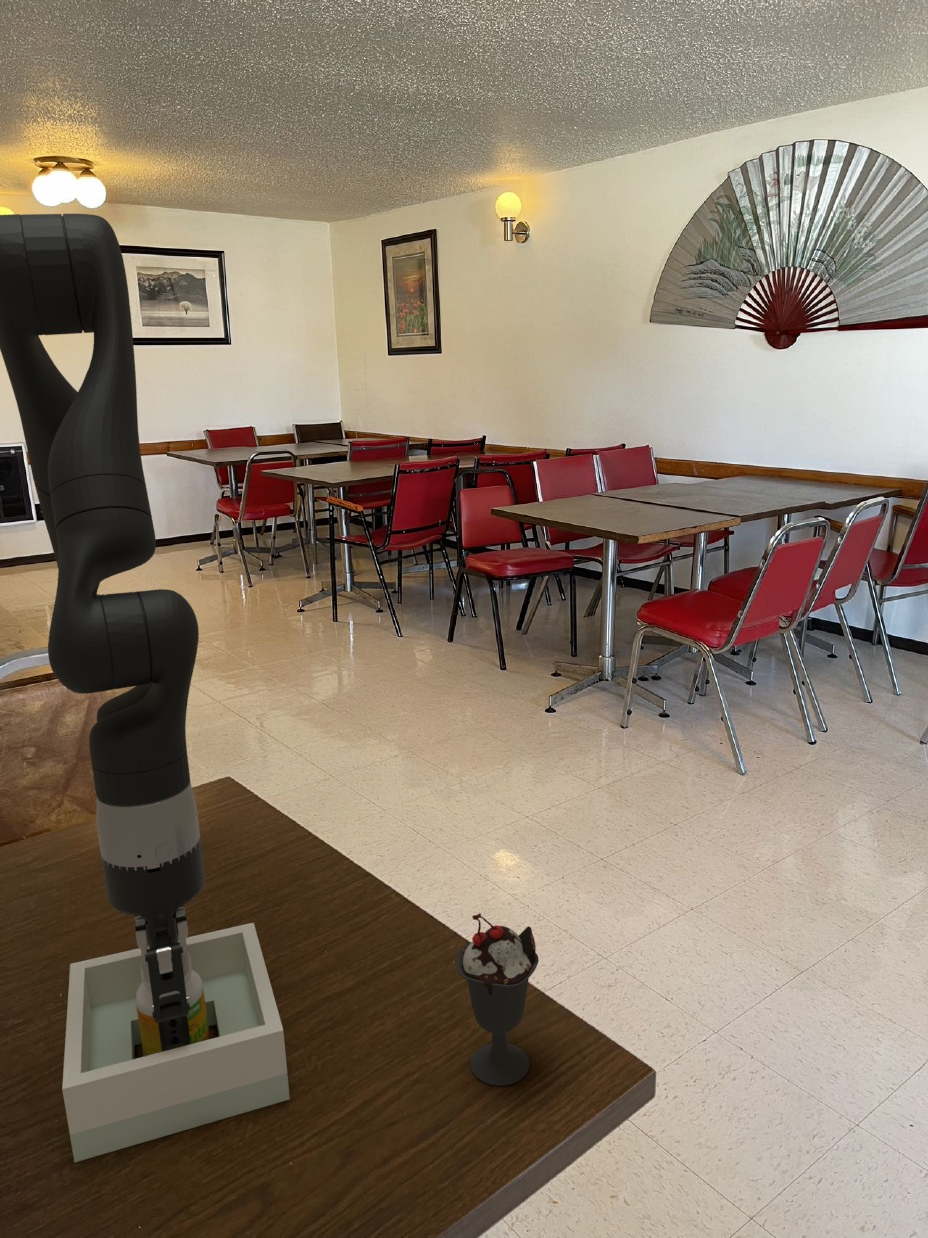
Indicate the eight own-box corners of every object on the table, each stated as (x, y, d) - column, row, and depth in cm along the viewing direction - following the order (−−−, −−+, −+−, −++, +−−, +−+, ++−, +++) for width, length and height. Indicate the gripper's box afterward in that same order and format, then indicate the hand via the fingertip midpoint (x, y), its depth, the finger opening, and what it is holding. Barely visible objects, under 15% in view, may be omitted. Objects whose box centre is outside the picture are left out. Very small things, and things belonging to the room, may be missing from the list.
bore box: (80, 1026, 82) (70, 963, 81) (259, 982, 88) (253, 922, 86) (74, 1162, 68) (62, 1089, 66) (289, 1099, 73) (283, 1030, 71)
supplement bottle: (192, 1087, 75) (178, 984, 72) (132, 1079, 76) (117, 977, 73) (222, 1042, 80) (210, 944, 77) (165, 1035, 81) (152, 938, 78)
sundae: (448, 1084, 74) (441, 921, 70) (475, 1030, 80) (471, 877, 77) (526, 1104, 72) (523, 936, 68) (548, 1047, 78) (547, 890, 74)
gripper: (100, 811, 78) (124, 976, 82) (99, 894, 65) (127, 1086, 69) (191, 795, 80) (210, 956, 84) (208, 872, 67) (228, 1058, 71)
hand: (172, 1014), depth 77 cm, fingers open, 8 cm apart
